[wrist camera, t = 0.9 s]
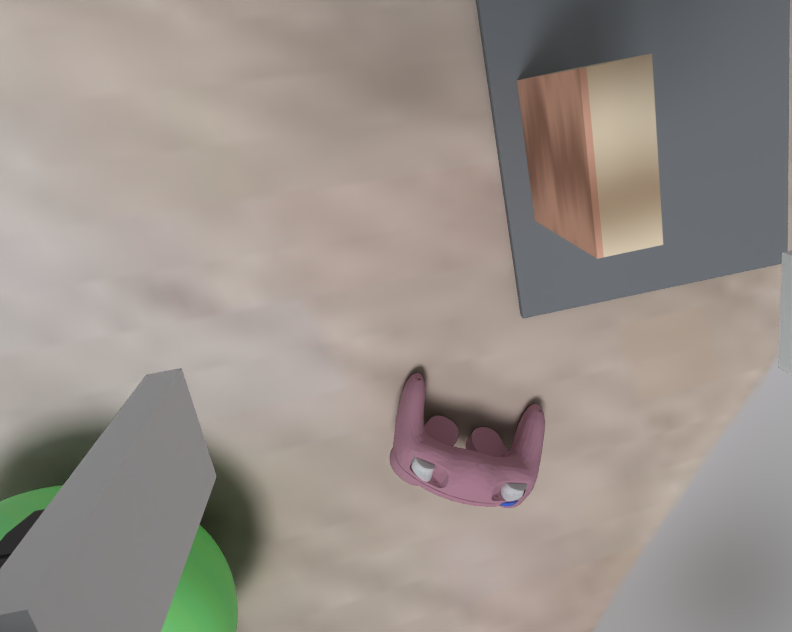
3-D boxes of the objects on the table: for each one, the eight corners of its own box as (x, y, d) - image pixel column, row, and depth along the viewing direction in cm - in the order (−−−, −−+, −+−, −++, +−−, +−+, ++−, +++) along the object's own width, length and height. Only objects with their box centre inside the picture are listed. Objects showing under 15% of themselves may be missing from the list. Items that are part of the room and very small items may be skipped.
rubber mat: (471, -31, 33) (473, -34, 32) (782, -98, 33) (790, -102, 32) (520, 315, 39) (523, 318, 39) (781, 260, 39) (787, 262, 39)
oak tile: (516, 80, 34) (578, 68, 25) (569, 69, 34) (651, 53, 25) (534, 220, 37) (597, 258, 27) (583, 210, 37) (663, 244, 27)
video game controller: (388, 404, 43) (378, 495, 37) (408, 363, 39) (401, 457, 34) (520, 437, 44) (527, 529, 39) (549, 401, 41) (562, 495, 36)
